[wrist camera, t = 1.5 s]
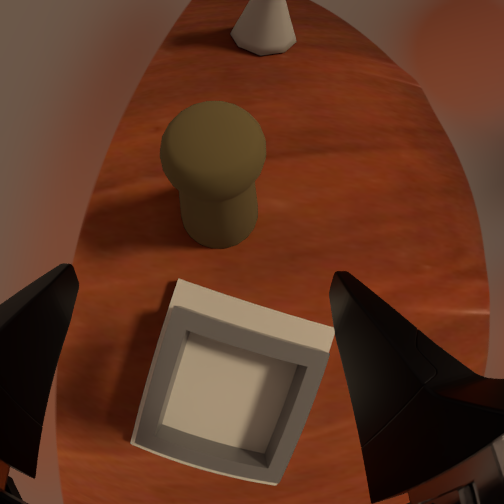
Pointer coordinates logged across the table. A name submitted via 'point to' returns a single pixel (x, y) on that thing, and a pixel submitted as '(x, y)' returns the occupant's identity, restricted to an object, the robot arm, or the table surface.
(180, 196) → the cork
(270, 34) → the flask
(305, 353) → the socket
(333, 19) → the table surface
